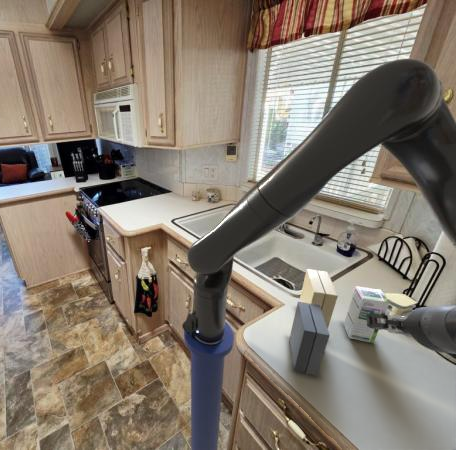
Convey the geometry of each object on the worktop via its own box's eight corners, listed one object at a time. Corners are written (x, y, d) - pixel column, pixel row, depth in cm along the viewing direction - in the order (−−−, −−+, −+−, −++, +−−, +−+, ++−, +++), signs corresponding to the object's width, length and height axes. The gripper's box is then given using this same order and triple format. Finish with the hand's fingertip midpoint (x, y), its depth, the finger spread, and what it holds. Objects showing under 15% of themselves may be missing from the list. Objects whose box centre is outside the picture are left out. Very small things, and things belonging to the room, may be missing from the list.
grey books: (293, 370, 63) (304, 330, 57) (289, 339, 71) (297, 301, 66) (316, 376, 61) (329, 335, 55) (309, 343, 70) (319, 305, 64)
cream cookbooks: (302, 335, 72) (313, 291, 66) (297, 309, 82) (306, 268, 75) (324, 340, 70) (338, 295, 64) (316, 312, 80) (327, 271, 73)
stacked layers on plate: (393, 301, 82) (399, 287, 80) (423, 321, 74) (430, 307, 72) (366, 305, 81) (371, 291, 79) (393, 326, 73) (399, 311, 71)
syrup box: (348, 338, 70) (363, 298, 64) (342, 323, 75) (355, 284, 69) (373, 343, 68) (391, 303, 62) (365, 327, 73) (380, 288, 67)
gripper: (507, 314, 40) (433, 317, 54) (395, 298, 44) (355, 304, 59) (519, 366, 37) (439, 354, 52) (399, 343, 42) (357, 337, 56)
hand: (394, 327), depth 55 cm, fingers open, 8 cm apart
